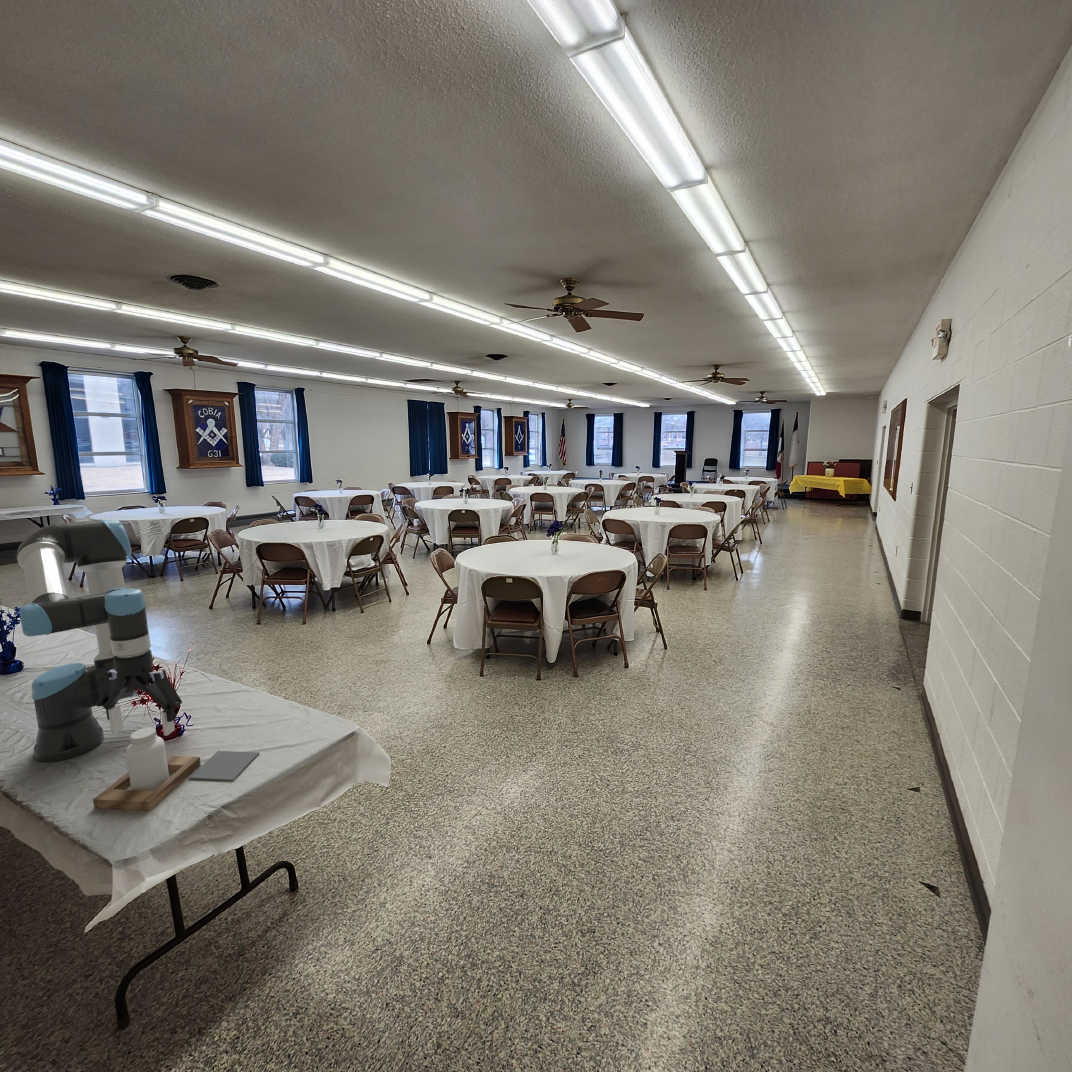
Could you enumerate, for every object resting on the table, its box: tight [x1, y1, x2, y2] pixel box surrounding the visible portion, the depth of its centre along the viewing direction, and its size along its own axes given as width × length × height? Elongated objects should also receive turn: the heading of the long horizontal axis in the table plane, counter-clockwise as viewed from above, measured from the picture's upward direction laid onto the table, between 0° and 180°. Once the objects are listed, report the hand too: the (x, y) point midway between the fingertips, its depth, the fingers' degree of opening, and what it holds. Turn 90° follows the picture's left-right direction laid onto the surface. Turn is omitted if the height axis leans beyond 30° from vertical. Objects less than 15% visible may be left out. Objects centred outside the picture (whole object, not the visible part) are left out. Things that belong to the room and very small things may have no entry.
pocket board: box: [92, 755, 202, 812], centre depth 136 cm, size 14×18×2 cm
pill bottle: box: [125, 726, 170, 791], centre depth 135 cm, size 8×8×15 cm
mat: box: [188, 750, 260, 782], centre depth 144 cm, size 12×12×1 cm
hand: (143, 732), depth 133 cm, fingers open, 13 cm apart
